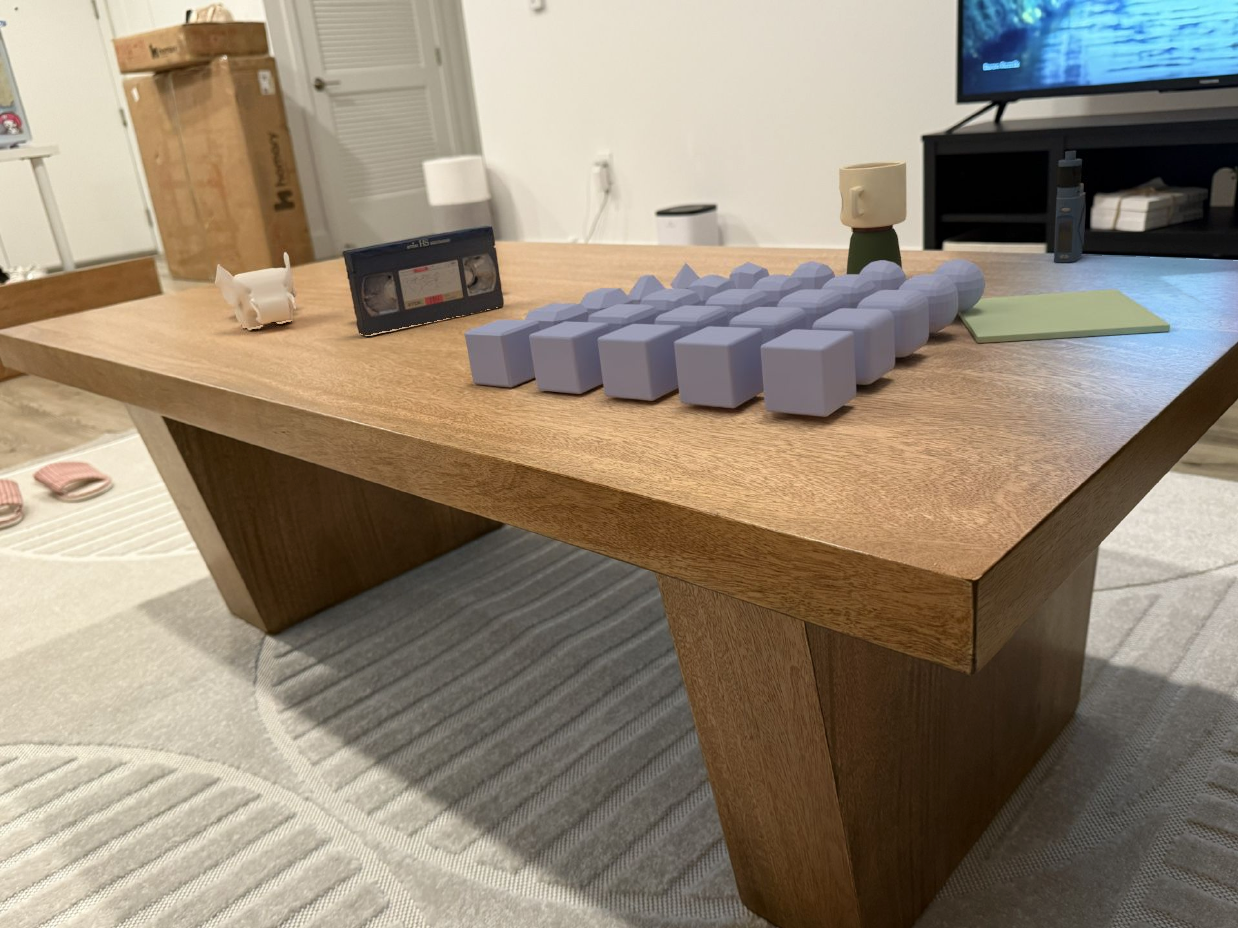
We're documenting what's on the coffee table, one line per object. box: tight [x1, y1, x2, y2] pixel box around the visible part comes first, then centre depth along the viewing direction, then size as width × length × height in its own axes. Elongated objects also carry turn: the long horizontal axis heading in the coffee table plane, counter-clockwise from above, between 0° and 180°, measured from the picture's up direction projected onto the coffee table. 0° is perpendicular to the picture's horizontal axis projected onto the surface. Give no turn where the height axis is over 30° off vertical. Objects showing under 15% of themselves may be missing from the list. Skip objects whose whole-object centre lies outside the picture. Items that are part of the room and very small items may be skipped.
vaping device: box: [1053, 150, 1087, 263], centre depth 111 cm, size 3×5×12 cm, turn 145°
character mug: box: [838, 160, 907, 274], centre depth 110 cm, size 11×7×13 cm, turn 143°
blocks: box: [464, 258, 986, 418], centre depth 90 cm, size 35×34×5 cm
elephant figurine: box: [214, 251, 298, 328], centre depth 126 cm, size 10×12×9 cm
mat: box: [957, 288, 1171, 344], centre depth 89 cm, size 15×15×1 cm
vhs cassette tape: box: [342, 225, 505, 335], centre depth 118 cm, size 18×3×10 cm, turn 123°
